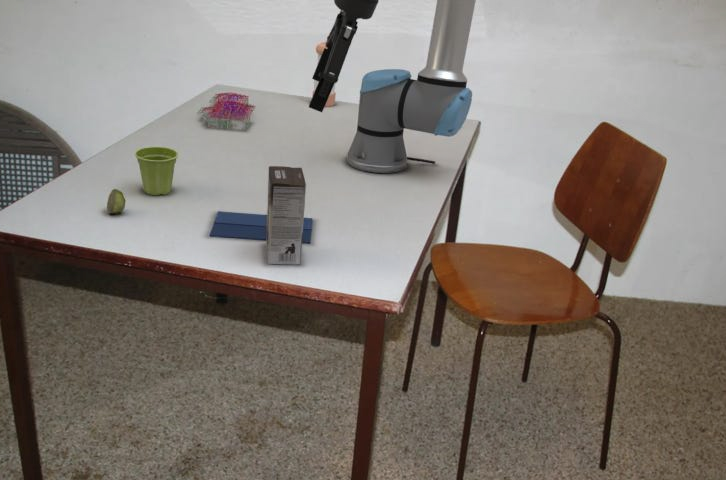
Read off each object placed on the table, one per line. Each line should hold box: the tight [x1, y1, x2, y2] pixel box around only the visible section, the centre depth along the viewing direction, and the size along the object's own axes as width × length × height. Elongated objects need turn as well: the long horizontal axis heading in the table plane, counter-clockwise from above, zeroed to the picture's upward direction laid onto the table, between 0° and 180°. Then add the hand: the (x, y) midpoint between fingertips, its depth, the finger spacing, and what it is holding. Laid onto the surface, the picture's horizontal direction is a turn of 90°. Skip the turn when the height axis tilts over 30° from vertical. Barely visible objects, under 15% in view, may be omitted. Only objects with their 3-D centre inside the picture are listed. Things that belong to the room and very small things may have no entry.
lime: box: [106, 188, 126, 215], centre depth 165 cm, size 4×5×5 cm
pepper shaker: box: [311, 39, 336, 107], centre depth 247 cm, size 7×7×19 cm
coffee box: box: [265, 165, 307, 266], centre depth 149 cm, size 9×6×16 cm
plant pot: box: [134, 146, 179, 196], centre depth 176 cm, size 9×9×9 cm
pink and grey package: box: [196, 91, 256, 131], centre depth 232 cm, size 30×15×5 cm, turn 174°
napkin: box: [209, 210, 313, 244], centre depth 163 cm, size 20×12×1 cm, turn 87°
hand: (317, 94), depth 155 cm, fingers open, 13 cm apart
